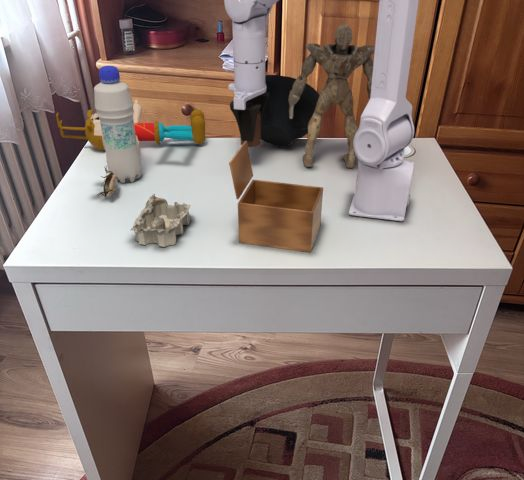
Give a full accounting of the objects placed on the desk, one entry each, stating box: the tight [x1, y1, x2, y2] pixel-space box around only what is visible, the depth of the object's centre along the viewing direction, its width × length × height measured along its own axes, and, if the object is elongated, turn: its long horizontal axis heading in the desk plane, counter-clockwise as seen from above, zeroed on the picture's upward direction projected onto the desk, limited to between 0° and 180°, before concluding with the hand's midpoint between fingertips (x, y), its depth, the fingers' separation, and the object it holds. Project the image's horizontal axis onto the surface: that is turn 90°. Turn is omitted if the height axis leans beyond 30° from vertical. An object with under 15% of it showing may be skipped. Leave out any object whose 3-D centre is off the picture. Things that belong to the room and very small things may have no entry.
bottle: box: [93, 65, 142, 184], centre depth 100 cm, size 7×7×20 cm
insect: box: [96, 164, 118, 198], centre depth 100 cm, size 6×9×3 cm
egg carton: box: [130, 193, 191, 248], centre depth 90 cm, size 11×8×4 cm
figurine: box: [288, 23, 375, 169], centre depth 104 cm, size 18×8×25 cm, turn 91°
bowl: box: [261, 74, 320, 148], centre depth 115 cm, size 17×17×10 cm
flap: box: [228, 141, 254, 200], centre depth 85 cm, size 6×9×1 cm
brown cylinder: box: [239, 111, 262, 149], centre depth 106 cm, size 4×4×6 cm
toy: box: [55, 99, 206, 153], centre depth 116 cm, size 25×8×30 cm
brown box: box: [237, 179, 324, 253], centre depth 88 cm, size 12×9×7 cm
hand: (250, 136), depth 107 cm, fingers closed on brown cylinder, 4 cm apart
